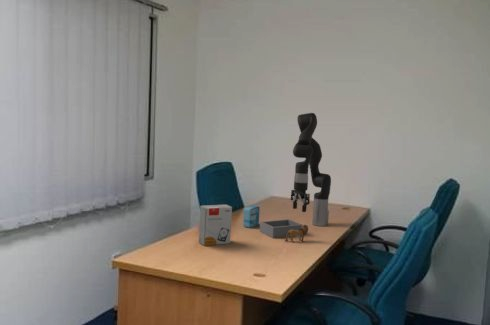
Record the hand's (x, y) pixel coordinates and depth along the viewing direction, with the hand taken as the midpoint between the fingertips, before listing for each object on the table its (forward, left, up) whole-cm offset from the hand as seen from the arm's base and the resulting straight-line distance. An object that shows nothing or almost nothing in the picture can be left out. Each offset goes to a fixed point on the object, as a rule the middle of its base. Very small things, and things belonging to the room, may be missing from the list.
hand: (299, 210), depth 256 cm
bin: (0, -17, -17) cm, 24 cm away
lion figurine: (+1, 0, -18) cm, 18 cm away
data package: (+8, -38, -18) cm, 43 cm away
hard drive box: (+45, -13, -18) cm, 50 cm away
